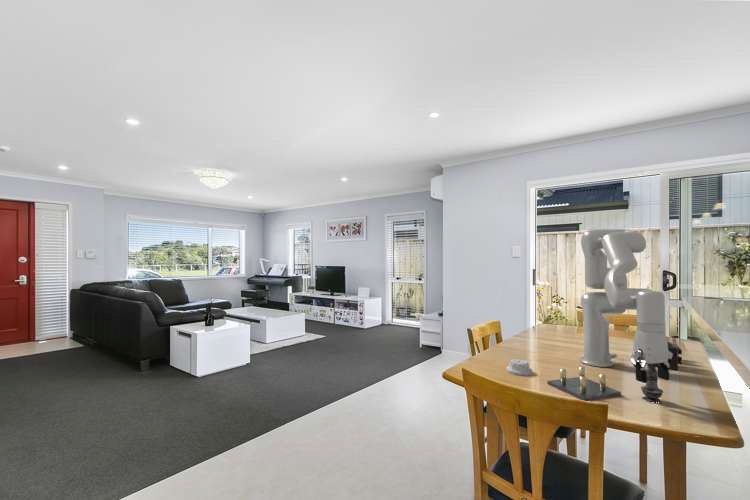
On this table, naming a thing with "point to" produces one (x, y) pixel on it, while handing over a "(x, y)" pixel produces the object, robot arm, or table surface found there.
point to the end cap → (679, 357)
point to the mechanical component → (519, 367)
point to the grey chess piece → (651, 386)
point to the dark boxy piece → (674, 360)
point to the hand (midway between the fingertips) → (652, 380)
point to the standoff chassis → (583, 386)
